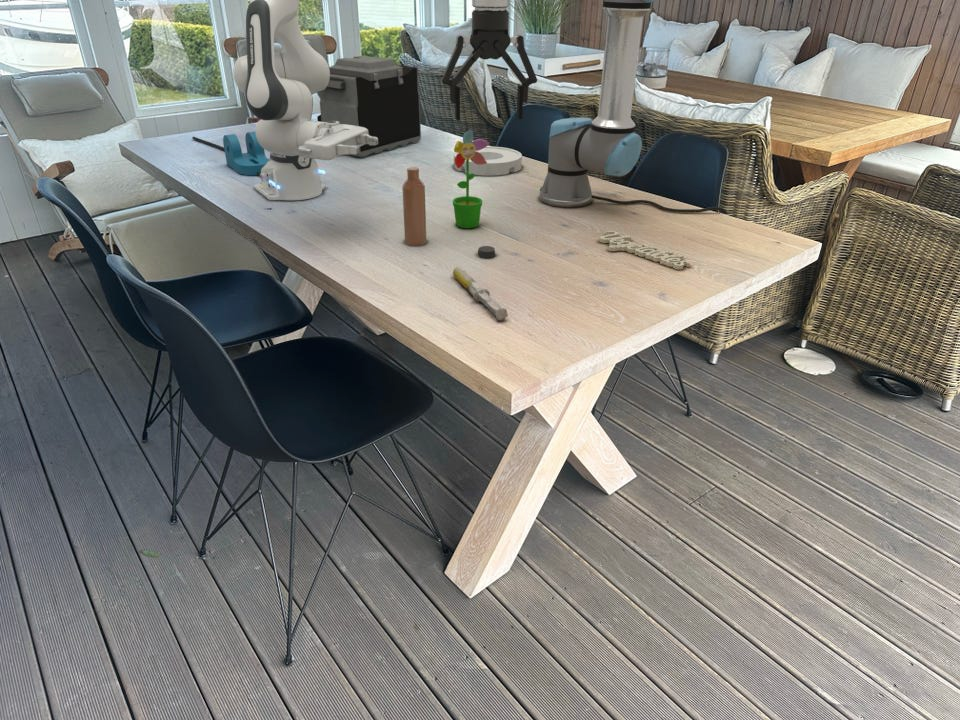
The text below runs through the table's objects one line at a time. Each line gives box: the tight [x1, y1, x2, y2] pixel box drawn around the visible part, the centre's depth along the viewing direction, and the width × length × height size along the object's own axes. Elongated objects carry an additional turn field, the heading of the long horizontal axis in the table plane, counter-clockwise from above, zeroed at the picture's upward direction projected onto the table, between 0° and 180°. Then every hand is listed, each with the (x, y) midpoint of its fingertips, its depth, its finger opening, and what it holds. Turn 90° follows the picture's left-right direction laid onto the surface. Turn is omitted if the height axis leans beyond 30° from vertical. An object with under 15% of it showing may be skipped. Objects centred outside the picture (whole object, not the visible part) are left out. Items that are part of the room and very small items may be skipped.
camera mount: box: [222, 131, 270, 176], centre depth 226 cm, size 18×10×10 cm, turn 35°
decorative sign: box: [599, 230, 690, 270], centre depth 167 cm, size 26×1×10 cm
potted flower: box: [452, 129, 491, 229], centre depth 177 cm, size 9×8×25 cm
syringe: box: [452, 266, 509, 321], centre depth 145 cm, size 25×4×3 cm, turn 21°
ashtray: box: [453, 145, 523, 177], centre depth 234 cm, size 23×23×4 cm
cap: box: [477, 245, 496, 259], centre depth 165 cm, size 4×4×2 cm
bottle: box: [401, 166, 427, 247], centre depth 168 cm, size 5×5×18 cm
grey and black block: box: [315, 55, 422, 159], centre depth 250 cm, size 37×22×30 cm, turn 144°
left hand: (367, 145), depth 164 cm, fingers open, 8 cm apart
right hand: (488, 118), depth 149 cm, fingers open, 13 cm apart
